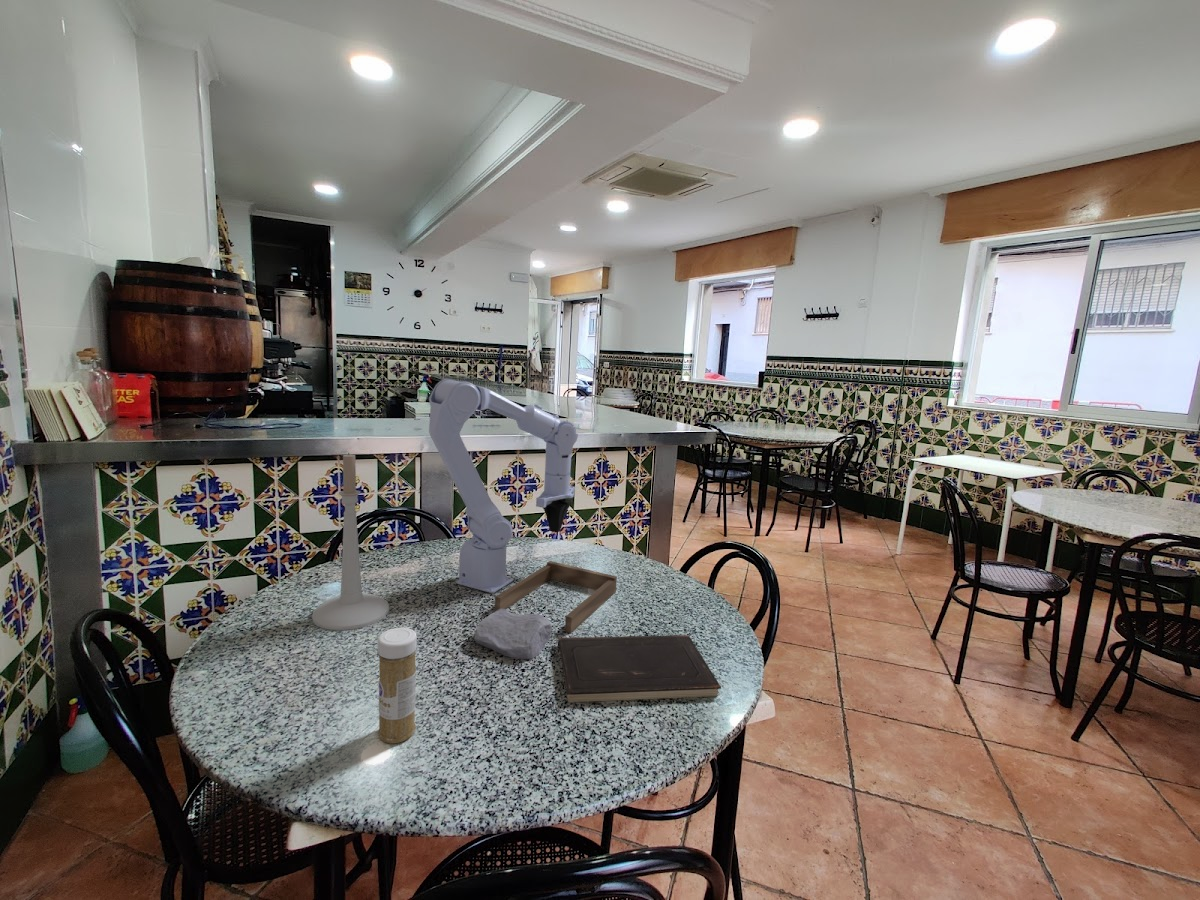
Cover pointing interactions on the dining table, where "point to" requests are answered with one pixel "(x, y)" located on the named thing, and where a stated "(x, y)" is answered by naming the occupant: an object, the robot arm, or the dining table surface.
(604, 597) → the shelf lane
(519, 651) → the stone block
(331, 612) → the candlestick
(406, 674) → the sprinkles bottle
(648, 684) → the hardcover book
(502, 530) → the robot arm
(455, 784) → the dining table surface
